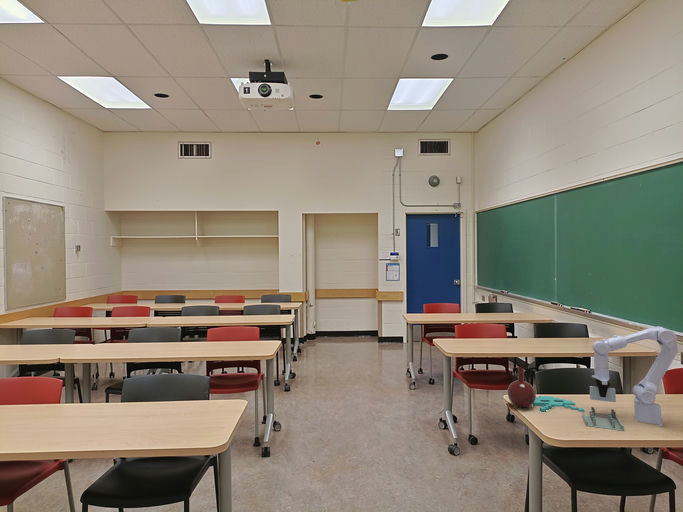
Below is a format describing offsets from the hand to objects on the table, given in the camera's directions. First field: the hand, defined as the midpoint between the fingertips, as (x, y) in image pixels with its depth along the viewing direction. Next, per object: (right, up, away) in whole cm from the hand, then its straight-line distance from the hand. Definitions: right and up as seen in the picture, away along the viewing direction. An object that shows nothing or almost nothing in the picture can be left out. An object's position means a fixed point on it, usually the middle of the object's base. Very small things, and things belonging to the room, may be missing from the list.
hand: (602, 396), depth 184 cm
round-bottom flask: (-31, -11, +15) cm, 36 cm away
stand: (0, -10, 0) cm, 10 cm away
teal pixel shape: (-14, -11, +16) cm, 24 cm away
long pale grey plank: (0, -2, 0) cm, 2 cm away
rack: (-6, -10, -9) cm, 15 cm away
